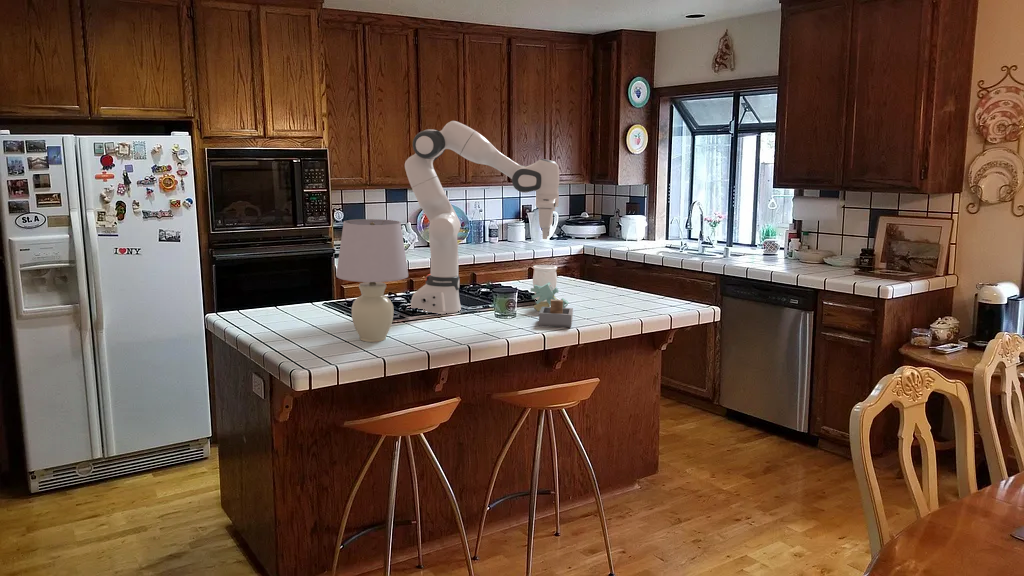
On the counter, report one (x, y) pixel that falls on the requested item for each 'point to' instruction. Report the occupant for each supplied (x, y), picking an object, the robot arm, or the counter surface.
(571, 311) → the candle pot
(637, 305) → the counter surface
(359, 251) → the lamp
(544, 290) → the toy
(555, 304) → the tan wooden brick
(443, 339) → the counter surface
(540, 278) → the jar
